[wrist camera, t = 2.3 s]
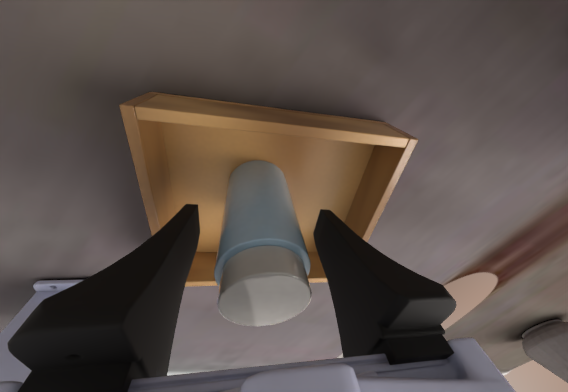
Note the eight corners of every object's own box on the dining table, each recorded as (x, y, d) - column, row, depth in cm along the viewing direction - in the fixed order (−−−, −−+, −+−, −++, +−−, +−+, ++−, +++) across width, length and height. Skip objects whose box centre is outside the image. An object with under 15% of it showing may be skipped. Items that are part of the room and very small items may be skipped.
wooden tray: (177, 251, 19) (164, 287, 16) (149, 91, 12) (117, 104, 9) (334, 251, 22) (347, 281, 19) (386, 122, 15) (419, 139, 12)
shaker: (227, 209, 17) (210, 333, 9) (227, 157, 14) (206, 269, 7) (282, 211, 18) (307, 327, 10) (291, 162, 15) (331, 266, 8)
